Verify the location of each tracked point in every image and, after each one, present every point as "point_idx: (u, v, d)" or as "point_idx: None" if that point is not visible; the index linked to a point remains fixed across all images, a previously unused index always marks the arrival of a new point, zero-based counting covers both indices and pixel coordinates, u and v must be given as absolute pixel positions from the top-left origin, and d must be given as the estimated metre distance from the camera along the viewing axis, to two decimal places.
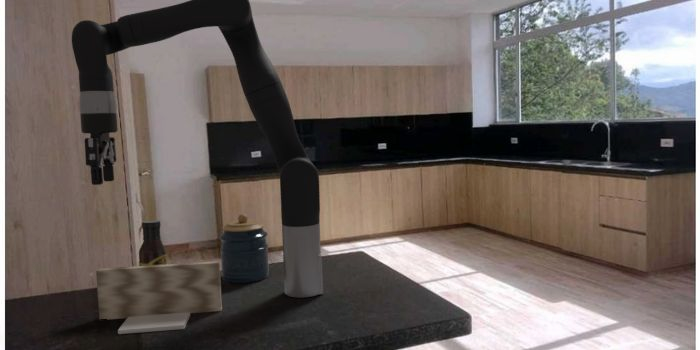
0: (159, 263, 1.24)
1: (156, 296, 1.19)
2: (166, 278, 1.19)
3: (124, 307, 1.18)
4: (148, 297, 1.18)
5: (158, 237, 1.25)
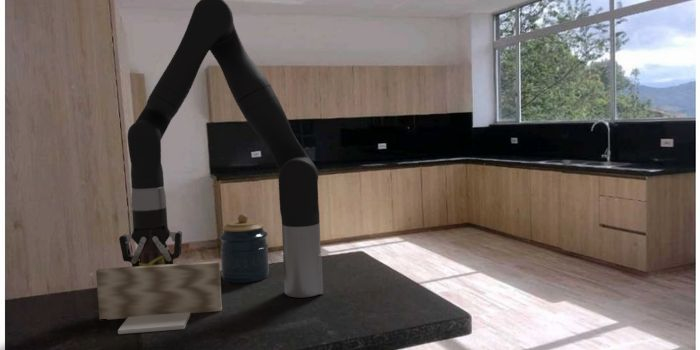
0: (159, 263, 1.24)
1: (156, 296, 1.19)
2: (166, 278, 1.19)
3: (124, 307, 1.18)
4: (148, 297, 1.18)
5: None
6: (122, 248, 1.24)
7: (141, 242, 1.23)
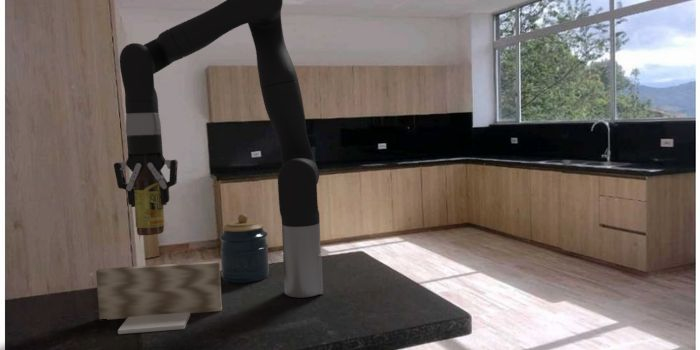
0: (154, 190, 1.23)
1: (156, 296, 1.19)
2: (166, 278, 1.19)
3: (124, 307, 1.18)
4: (148, 297, 1.18)
5: None
6: (117, 175, 1.22)
7: (136, 169, 1.22)
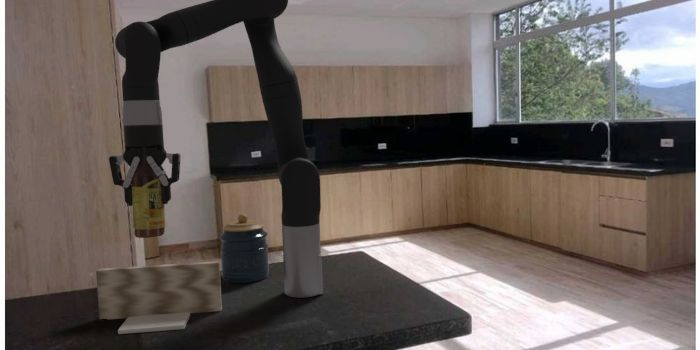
0: (154, 187, 1.09)
1: (156, 296, 1.19)
2: (166, 278, 1.19)
3: (124, 307, 1.18)
4: (148, 297, 1.18)
5: None
6: (112, 170, 1.09)
7: (134, 163, 1.08)
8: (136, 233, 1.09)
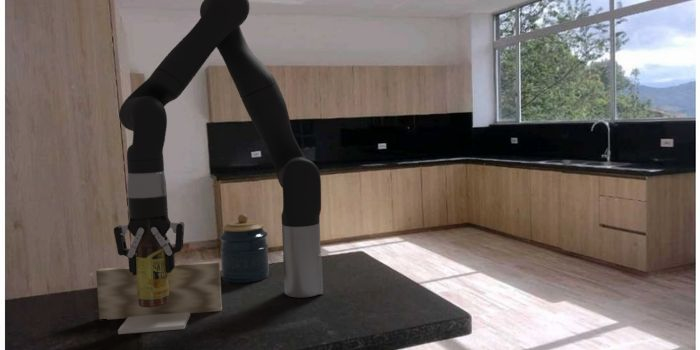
0: (158, 257, 1.10)
1: None
2: None
3: (124, 307, 1.18)
4: None
5: None
6: (117, 240, 1.10)
7: (139, 234, 1.10)
8: (140, 303, 1.11)
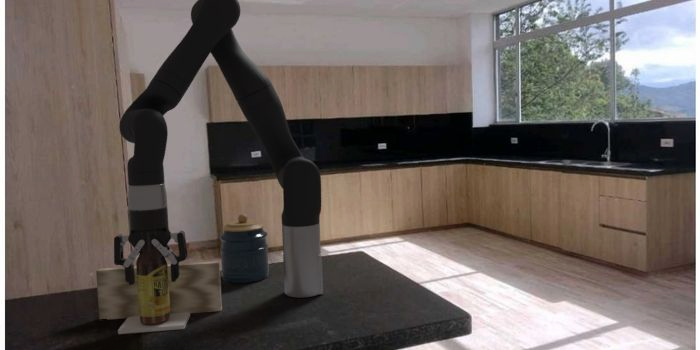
0: (159, 275, 1.10)
1: None
2: None
3: (124, 307, 1.18)
4: None
5: None
6: (115, 250, 1.10)
7: (139, 246, 1.10)
8: (142, 320, 1.11)
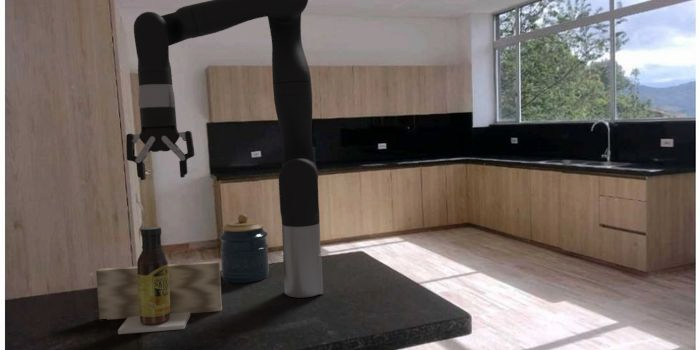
0: (160, 275, 1.11)
1: None
2: None
3: (124, 307, 1.18)
4: None
5: (159, 245, 1.12)
6: (128, 146, 1.18)
7: (149, 142, 1.18)
8: (142, 320, 1.11)
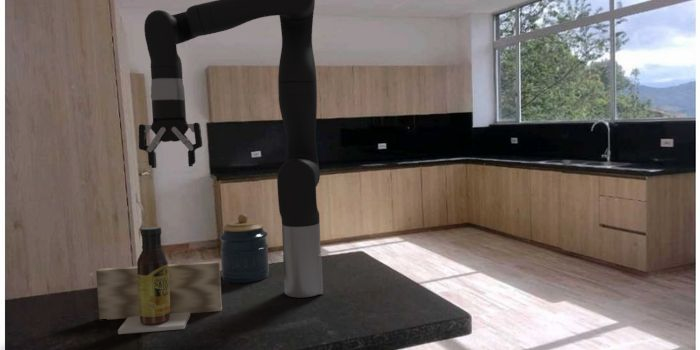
0: (160, 275, 1.11)
1: None
2: None
3: (124, 307, 1.18)
4: None
5: (159, 245, 1.12)
6: (140, 136, 1.26)
7: (160, 132, 1.26)
8: (142, 320, 1.11)
